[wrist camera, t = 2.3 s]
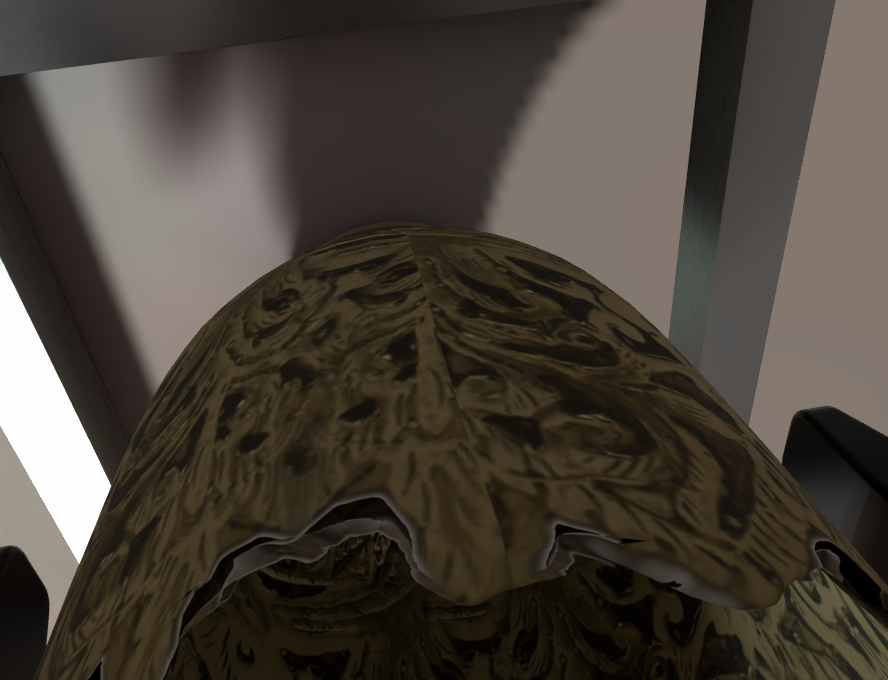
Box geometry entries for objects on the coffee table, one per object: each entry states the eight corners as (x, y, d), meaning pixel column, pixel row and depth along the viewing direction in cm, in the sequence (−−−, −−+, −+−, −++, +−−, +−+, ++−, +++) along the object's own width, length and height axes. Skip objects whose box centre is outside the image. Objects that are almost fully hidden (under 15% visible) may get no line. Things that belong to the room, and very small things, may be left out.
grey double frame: (655, 755, 23) (671, 800, 22) (262, 834, 22) (262, 884, 21) (805, -151, 9) (863, -136, 8) (-185, -33, 9) (-242, -3, 8)
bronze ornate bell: (599, -10, 10) (1130, 442, 4) (648, 409, 15) (925, 931, 8) (25, 163, 10) (-392, 872, 4) (250, 525, 15) (225, 1121, 8)
